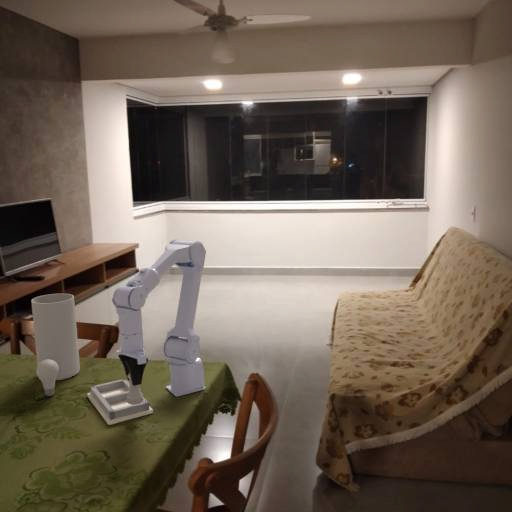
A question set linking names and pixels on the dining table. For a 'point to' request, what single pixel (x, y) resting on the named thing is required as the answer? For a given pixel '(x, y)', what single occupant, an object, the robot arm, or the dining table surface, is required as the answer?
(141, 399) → the rook chess piece
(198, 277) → the robot arm
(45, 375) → the lightbulb
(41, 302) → the cylinder vase
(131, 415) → the pocket tray
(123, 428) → the dining table surface
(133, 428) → the dining table surface
